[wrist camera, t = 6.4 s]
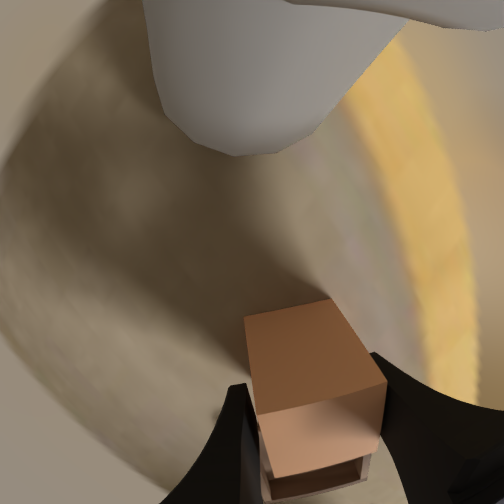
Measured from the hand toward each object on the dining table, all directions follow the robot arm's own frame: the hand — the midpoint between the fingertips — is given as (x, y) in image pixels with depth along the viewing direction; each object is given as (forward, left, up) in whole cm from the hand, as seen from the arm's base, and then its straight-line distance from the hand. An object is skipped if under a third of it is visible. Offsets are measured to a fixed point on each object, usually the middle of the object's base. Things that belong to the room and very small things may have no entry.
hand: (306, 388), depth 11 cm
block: (0, 0, -3) cm, 3 cm away
